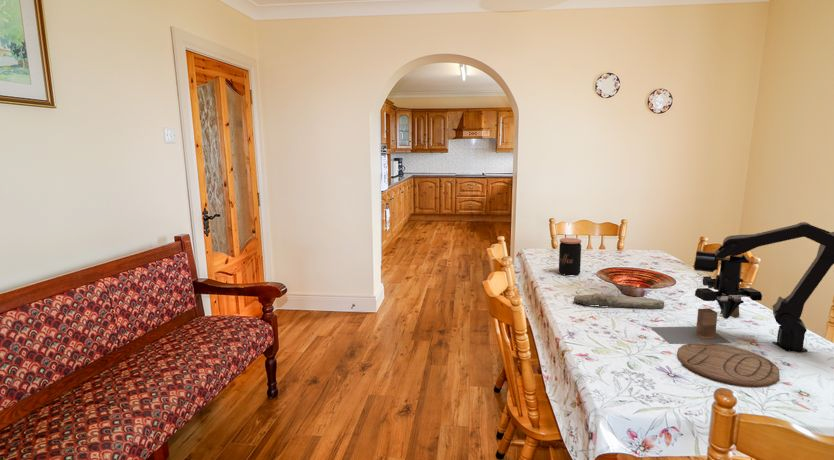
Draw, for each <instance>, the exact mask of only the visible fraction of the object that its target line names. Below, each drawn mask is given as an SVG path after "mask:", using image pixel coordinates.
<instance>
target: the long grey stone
mask: <svg viewBox="0 0 834 460" xmlns="http://www.w3.org/2000/svg"><path fill="white" fill-rule="evenodd" d="M573 302H575V303H576V302H577V304H578V303H581V304H580V305H582V304H588V305H599V306H612V307H611V308H623V307H624V308H629V309H632V308H631V307H634V308H636V309H637V308H638V309H645V308H648V310H653V309H654V310H655V309H657V310H658V309H663V308H665V300H661V299H656V298H651V297H649V298H648V297H635V296H634V297H633V296H619V295H614V294H612V293H606V294H605V293H603V294H602V293H601V294H600V293H593V294H581V295H575V296H574V297H573ZM588 305H587V306H588Z"/></svg>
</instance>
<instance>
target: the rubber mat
mask: <svg viewBox="0 0 834 460" xmlns="http://www.w3.org/2000/svg"><path fill="white" fill-rule="evenodd" d="M649 328H650V329H651V330H652V331H653V332H655V333H656V334H657V335H658V336H659V337H660V338H662V339H663V340H664V341H665V342H667V343H669V344H670V345H685V344H689V343H699V342H703V343H717V344H732V342H731V341H730V340H728V339H726V338H725V337H724V336H722V335H720V334H718V333H717V332H716V334H715V338H702V337H700V336H699V335H697V334H696V328H697V326H649Z"/></svg>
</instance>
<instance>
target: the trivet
mask: <svg viewBox="0 0 834 460" xmlns="http://www.w3.org/2000/svg"><path fill="white" fill-rule="evenodd" d="M676 356H677V359H678V362H680V363H681V366H683V367H684V368H685V369H686V370H688V371H689V372H692V373H694V374H696V375H697V376H700V377H702V378H706V379H708V380H711V381H713V382H717V383H720V384H721V383H722V384H725V385H731V386H736V387H742V388H743V387H747V388H763V387H769V386H772V385H775V384H776V383H777V382H778V381H779V380H780V368H778V366H777V365H776V364H775V363H774V362H773V361H771V360H770V359H768V358H766V357H764V356H763V355H760V354H758V353H755V352H753V351H750V350H748V349H745V348H740V347H737V346H733V345H728V344H725V343H703V342H699V343H689V344H682V345H681V346H680V347H678V349H677V351H676Z"/></svg>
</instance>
